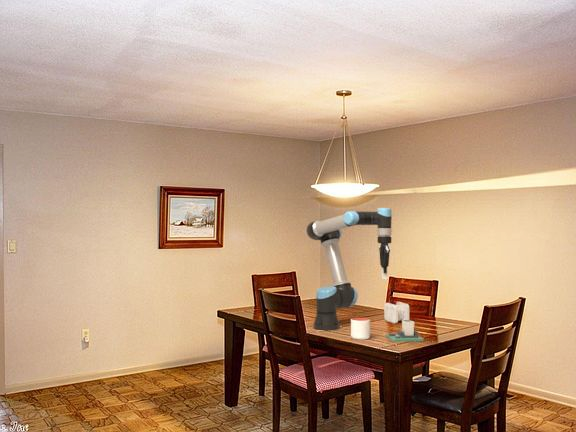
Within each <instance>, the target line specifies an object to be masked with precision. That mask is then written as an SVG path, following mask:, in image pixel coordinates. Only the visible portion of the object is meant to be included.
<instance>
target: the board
mask: <svg viewBox="0 0 576 432" xmlns="http://www.w3.org/2000/svg"><path fill="white" fill-rule="evenodd" d="M385 337H386V338H387V339H389V340H390V341H391V342H393V343H402V342H403V343H404V342H405V343H406V342H407V343H408V342H410V343H411V342H424V341H425V339H424V338H423V337H421V336H419V331H417V330H416V329H414V335H411V336H404V332H403V331H402V329H400V328H399V329H397V332H395V333H393V332H392V333H391V332H390V333H385Z"/></svg>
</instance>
